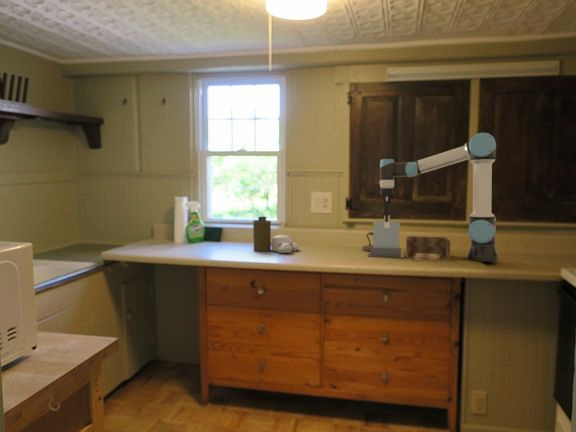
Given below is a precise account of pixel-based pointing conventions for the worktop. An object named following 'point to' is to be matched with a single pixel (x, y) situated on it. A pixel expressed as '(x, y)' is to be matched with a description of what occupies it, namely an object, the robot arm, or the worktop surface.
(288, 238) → the rock
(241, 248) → the worktop surface
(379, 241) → the sheet
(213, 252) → the worktop surface
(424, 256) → the offcut top
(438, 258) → the offcut middle
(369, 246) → the clothes iron
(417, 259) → the offcut bottom
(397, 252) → the grey block
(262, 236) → the canister
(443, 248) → the rack
